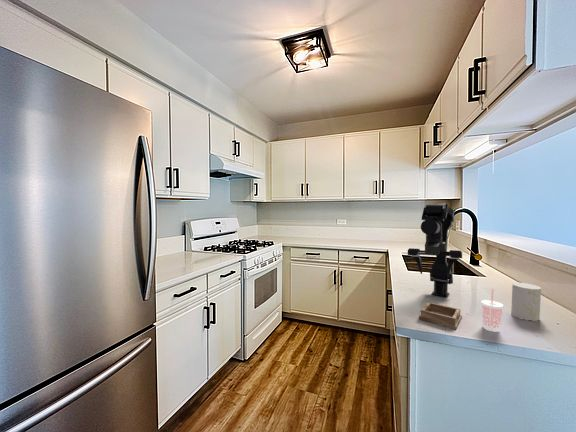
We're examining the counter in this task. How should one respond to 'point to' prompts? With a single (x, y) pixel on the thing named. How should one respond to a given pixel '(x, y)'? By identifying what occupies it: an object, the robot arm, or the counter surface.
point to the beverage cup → (491, 314)
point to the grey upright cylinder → (526, 301)
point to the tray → (441, 315)
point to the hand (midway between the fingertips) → (434, 275)
